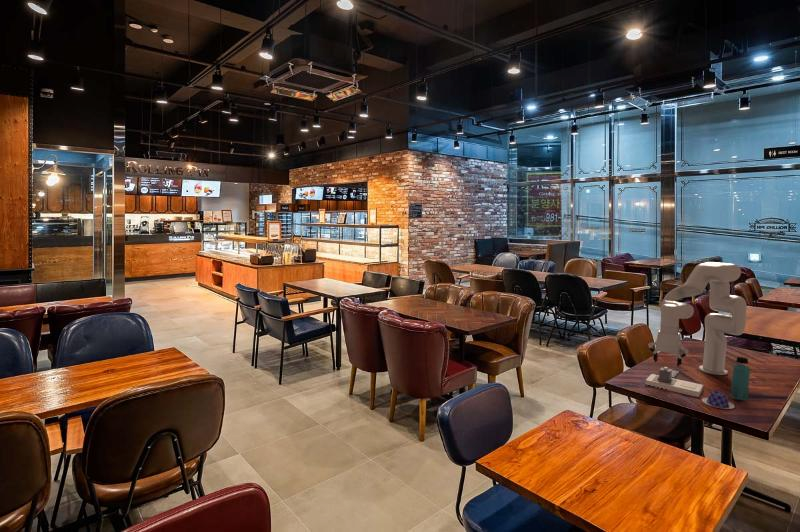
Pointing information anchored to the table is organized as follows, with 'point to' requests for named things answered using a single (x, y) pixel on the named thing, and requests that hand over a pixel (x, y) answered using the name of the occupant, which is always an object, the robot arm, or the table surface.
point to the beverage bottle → (740, 379)
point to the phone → (674, 373)
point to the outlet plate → (676, 385)
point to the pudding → (718, 400)
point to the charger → (665, 374)
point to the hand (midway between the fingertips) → (667, 363)
